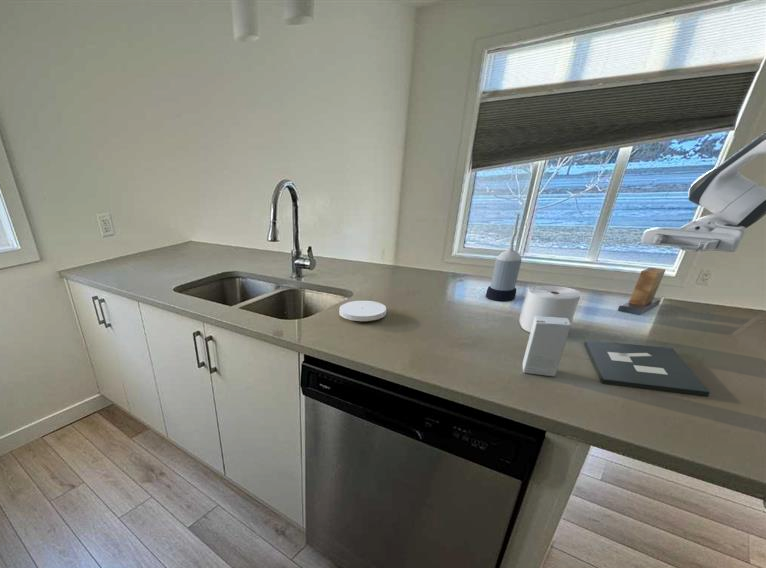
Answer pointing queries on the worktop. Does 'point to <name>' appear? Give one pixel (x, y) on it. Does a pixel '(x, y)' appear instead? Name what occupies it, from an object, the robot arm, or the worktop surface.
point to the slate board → (643, 367)
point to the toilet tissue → (548, 304)
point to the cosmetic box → (546, 345)
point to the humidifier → (505, 272)
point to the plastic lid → (362, 310)
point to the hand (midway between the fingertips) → (678, 244)
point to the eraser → (644, 292)
